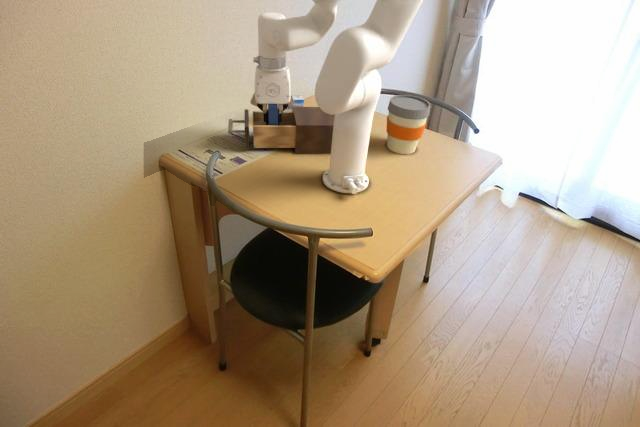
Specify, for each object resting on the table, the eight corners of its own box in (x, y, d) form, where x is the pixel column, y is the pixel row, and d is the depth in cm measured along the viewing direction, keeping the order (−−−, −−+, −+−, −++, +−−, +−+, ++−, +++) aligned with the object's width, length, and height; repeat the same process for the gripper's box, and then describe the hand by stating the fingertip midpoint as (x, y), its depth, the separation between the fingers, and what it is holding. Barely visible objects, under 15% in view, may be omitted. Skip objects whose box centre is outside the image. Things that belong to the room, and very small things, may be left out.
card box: (268, 135, 131) (268, 105, 125) (267, 125, 136) (267, 97, 131) (277, 135, 131) (277, 105, 126) (276, 125, 137) (276, 97, 132)
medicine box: (280, 125, 148) (280, 100, 142) (277, 119, 151) (278, 95, 146) (303, 124, 150) (304, 99, 144) (300, 118, 153) (301, 94, 148)
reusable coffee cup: (400, 160, 134) (410, 113, 125) (373, 143, 141) (380, 98, 133) (429, 151, 140) (440, 106, 131) (401, 135, 148) (409, 92, 139)
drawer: (228, 150, 129) (227, 126, 125) (229, 131, 139) (228, 109, 135) (304, 150, 133) (305, 127, 128) (300, 131, 142) (301, 110, 138)
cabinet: (295, 153, 132) (296, 125, 127) (291, 133, 143) (292, 106, 138) (356, 153, 135) (359, 125, 130) (347, 133, 146) (350, 107, 141)
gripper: (242, 65, 118) (245, 129, 128) (303, 66, 120) (300, 129, 131) (242, 57, 124) (245, 119, 134) (300, 58, 126) (298, 119, 137)
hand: (272, 123), depth 132 cm, fingers closed on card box, 2 cm apart
